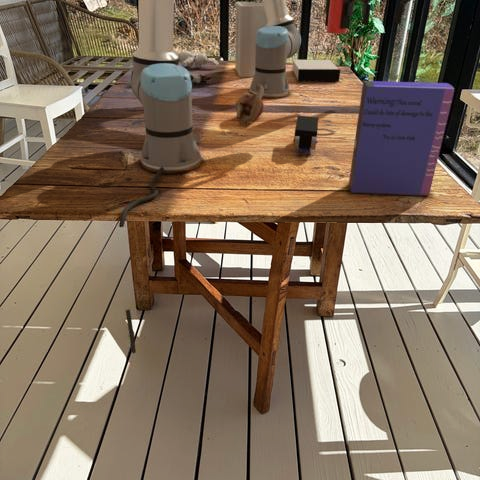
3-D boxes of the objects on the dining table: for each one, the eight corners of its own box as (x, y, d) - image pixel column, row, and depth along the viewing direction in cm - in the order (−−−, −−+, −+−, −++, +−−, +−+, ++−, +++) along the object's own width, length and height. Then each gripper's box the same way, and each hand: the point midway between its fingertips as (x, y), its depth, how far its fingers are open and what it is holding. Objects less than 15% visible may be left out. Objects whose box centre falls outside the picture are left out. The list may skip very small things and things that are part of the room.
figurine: (134, 83, 183) (212, 90, 186) (134, 61, 180) (213, 69, 184) (141, 80, 205) (210, 87, 209) (141, 61, 202) (211, 68, 206)
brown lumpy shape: (251, 126, 162) (245, 130, 148) (232, 108, 161) (224, 111, 147) (276, 97, 158) (272, 99, 144) (257, 79, 157) (251, 79, 143)
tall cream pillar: (273, 76, 210) (276, 6, 196) (239, 77, 209) (240, 6, 194) (266, 67, 226) (268, 2, 212) (235, 67, 225) (235, 1, 210)
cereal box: (423, 187, 112) (447, 82, 100) (428, 195, 108) (454, 87, 96) (348, 184, 113) (363, 79, 101) (351, 192, 109) (367, 85, 96)
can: (340, 30, 138) (345, -9, 133) (349, 33, 134) (354, -8, 129) (323, 31, 137) (327, -9, 132) (332, 33, 133) (336, -8, 127)
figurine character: (316, 163, 128) (316, 138, 139) (319, 137, 123) (319, 114, 135) (291, 161, 128) (293, 137, 140) (293, 135, 124) (295, 112, 135)
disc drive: (297, 81, 203) (298, 69, 200) (291, 70, 222) (292, 58, 220) (338, 81, 203) (340, 69, 201) (329, 70, 223) (330, 59, 220)
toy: (173, 74, 211) (173, 58, 207) (150, 64, 229) (148, 49, 225) (220, 68, 223) (220, 53, 219) (194, 59, 240) (194, 44, 237)
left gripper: (385, -71, 118) (370, 30, 130) (333, -70, 131) (324, 22, 143) (364, -73, 114) (351, 32, 126) (312, -71, 127) (305, 24, 139)
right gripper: (366, -46, 153) (357, 26, 164) (429, -45, 161) (416, 24, 172) (353, -46, 159) (345, 23, 170) (415, -45, 167) (403, 21, 178)
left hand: (336, 26), depth 135 cm, fingers closed on can, 5 cm apart
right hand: (381, 24), depth 171 cm, fingers open, 13 cm apart
